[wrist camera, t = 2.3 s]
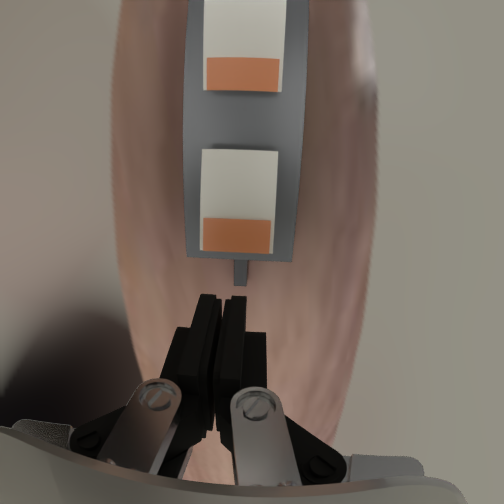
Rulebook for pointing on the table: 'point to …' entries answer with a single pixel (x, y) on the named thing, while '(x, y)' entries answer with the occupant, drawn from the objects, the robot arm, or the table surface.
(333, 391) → the table surface
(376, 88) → the table surface
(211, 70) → the rocker
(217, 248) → the plate
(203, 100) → the rocker switch panel
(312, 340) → the table surface
